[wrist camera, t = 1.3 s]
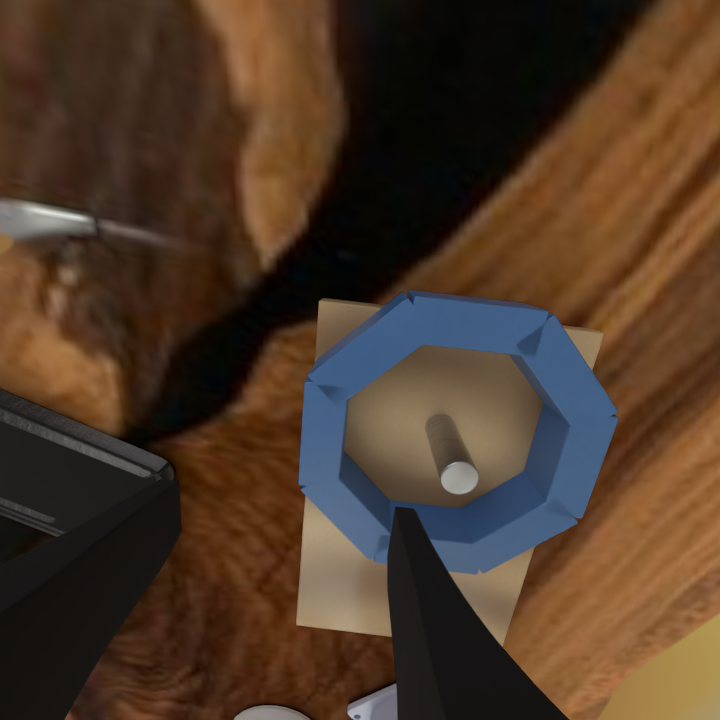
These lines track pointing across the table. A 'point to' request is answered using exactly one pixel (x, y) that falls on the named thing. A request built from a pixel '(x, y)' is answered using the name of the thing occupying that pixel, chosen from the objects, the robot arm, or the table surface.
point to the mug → (270, 713)
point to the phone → (65, 468)
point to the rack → (423, 467)
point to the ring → (505, 502)
